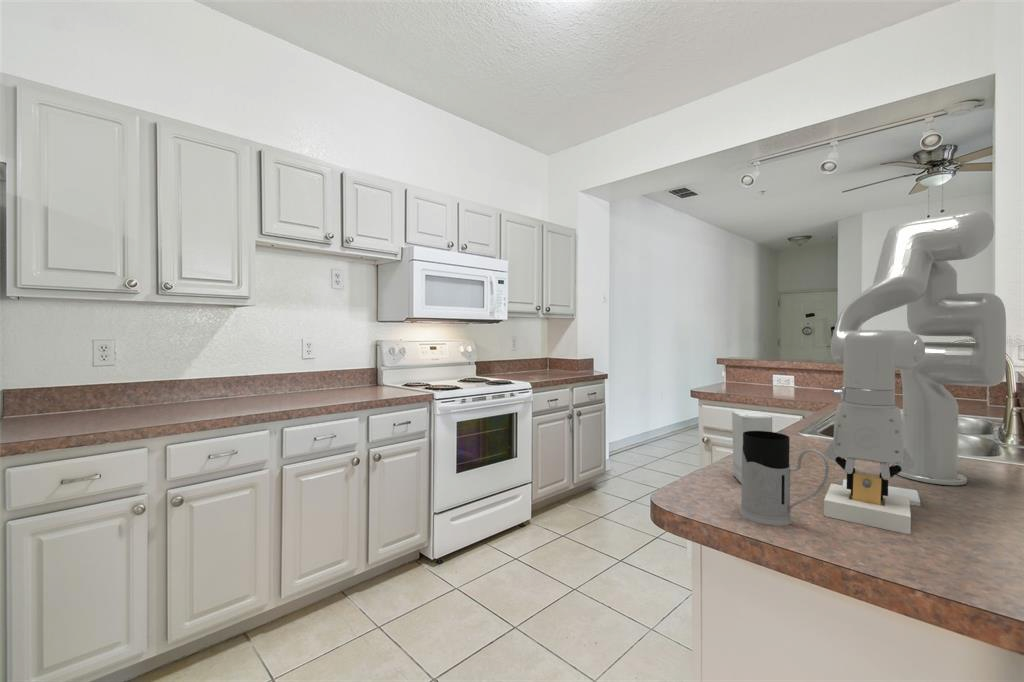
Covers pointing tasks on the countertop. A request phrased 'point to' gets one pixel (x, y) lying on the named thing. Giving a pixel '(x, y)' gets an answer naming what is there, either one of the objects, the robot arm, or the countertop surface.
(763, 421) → the skincare box
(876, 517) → the socket
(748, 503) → the glass holder
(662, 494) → the countertop surface
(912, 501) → the external hard drive
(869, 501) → the plug
